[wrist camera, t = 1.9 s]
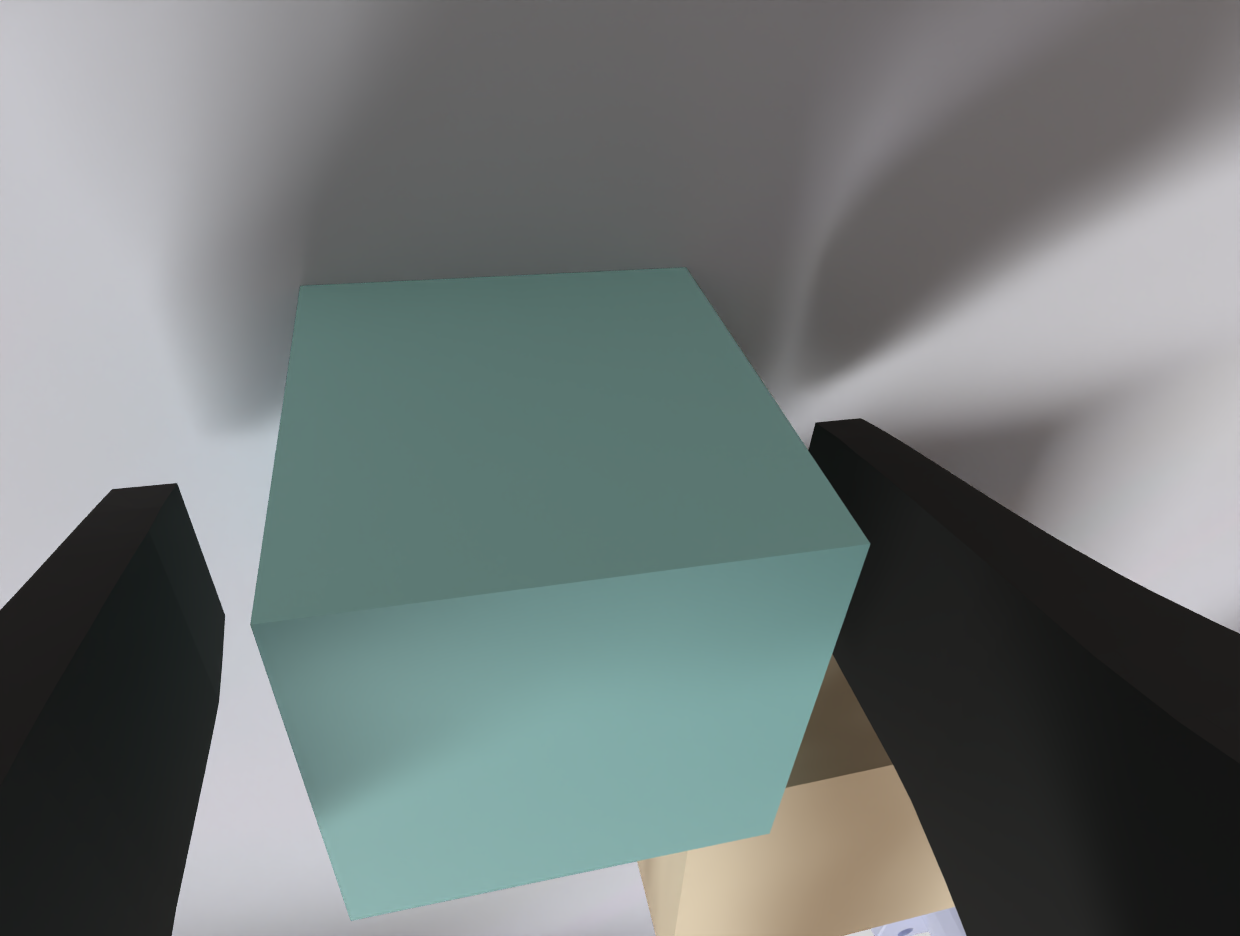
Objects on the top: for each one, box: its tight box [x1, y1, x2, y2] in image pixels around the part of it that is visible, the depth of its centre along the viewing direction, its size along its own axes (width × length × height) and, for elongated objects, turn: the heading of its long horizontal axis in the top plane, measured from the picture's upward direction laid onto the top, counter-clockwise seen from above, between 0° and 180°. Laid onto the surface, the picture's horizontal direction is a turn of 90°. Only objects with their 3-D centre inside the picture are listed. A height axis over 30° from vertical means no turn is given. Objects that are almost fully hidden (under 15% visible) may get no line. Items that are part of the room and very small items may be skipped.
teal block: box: [250, 267, 870, 921], centre depth 9 cm, size 4×4×5 cm
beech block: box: [637, 654, 955, 936], centre depth 15 cm, size 6×6×4 cm
